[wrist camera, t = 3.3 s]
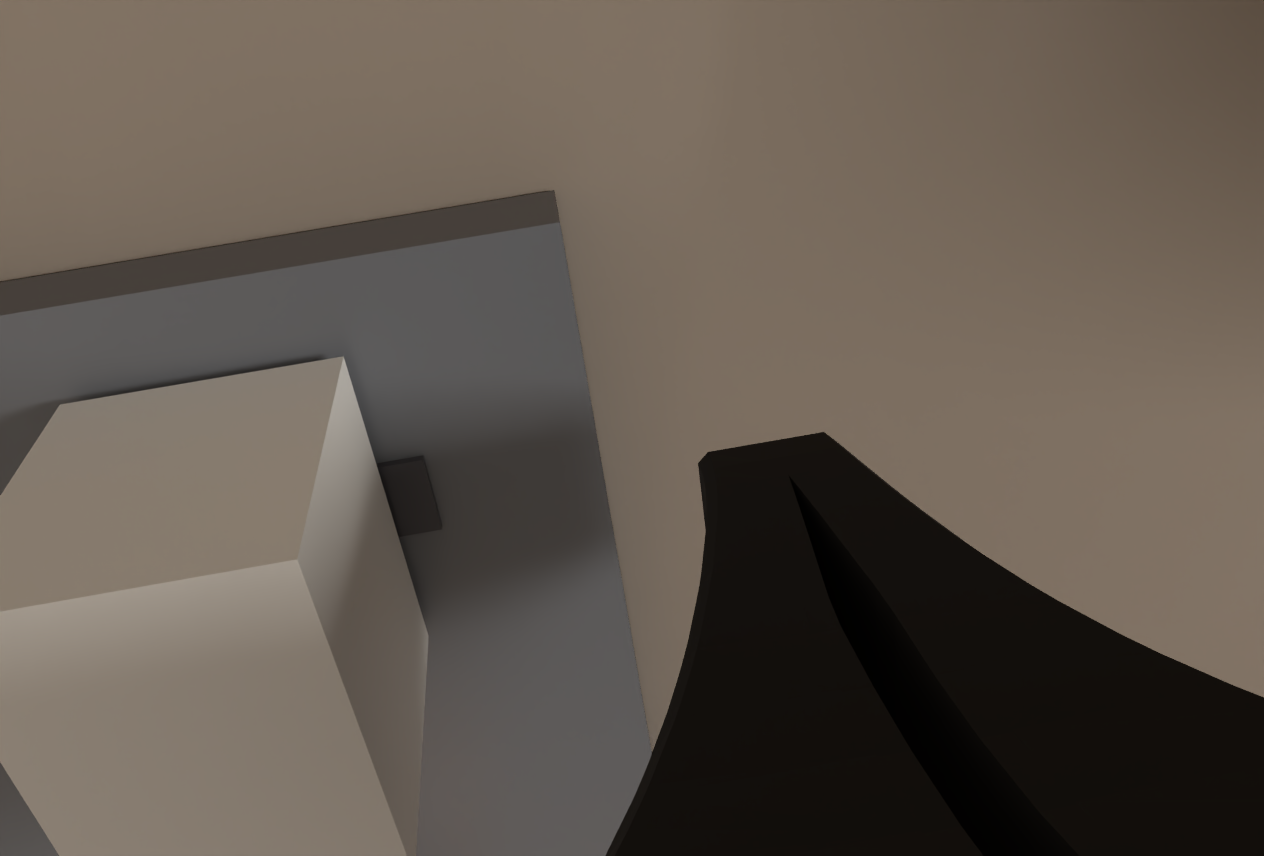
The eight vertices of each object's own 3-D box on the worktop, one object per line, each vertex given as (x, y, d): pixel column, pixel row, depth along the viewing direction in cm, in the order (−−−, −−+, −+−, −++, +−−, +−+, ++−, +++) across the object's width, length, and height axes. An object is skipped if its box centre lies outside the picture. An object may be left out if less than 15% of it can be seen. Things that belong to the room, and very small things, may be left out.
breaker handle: (343, 356, 12) (297, 559, 9) (428, 636, 14) (414, 876, 11) (60, 405, 12) (-86, 626, 9) (189, 679, 14) (107, 934, 11)
